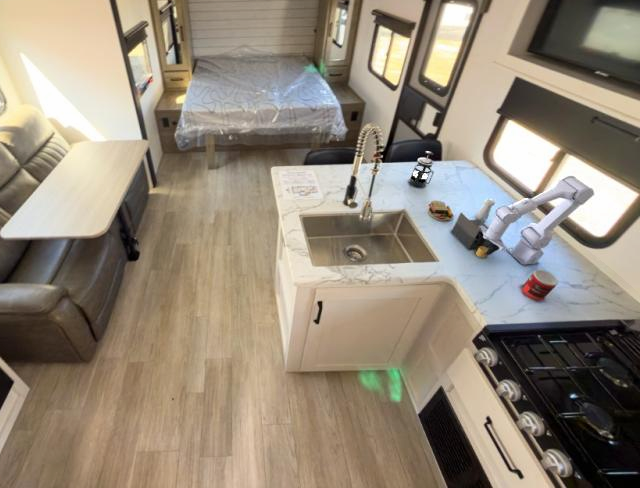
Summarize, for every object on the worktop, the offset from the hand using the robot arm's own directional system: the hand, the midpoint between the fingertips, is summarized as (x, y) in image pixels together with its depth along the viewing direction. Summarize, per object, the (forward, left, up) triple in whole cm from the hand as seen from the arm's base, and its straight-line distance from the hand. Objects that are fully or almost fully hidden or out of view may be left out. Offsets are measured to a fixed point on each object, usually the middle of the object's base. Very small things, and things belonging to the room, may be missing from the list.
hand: (483, 249), depth 153 cm
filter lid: (+10, +3, +7) cm, 13 cm away
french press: (+60, -4, -4) cm, 60 cm away
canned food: (-23, -6, -4) cm, 24 cm away
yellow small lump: (0, 0, -4) cm, 4 cm away
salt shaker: (+24, -19, -4) cm, 31 cm away
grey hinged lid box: (+10, -3, -4) cm, 11 cm away
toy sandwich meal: (+31, +1, -4) cm, 31 cm away
